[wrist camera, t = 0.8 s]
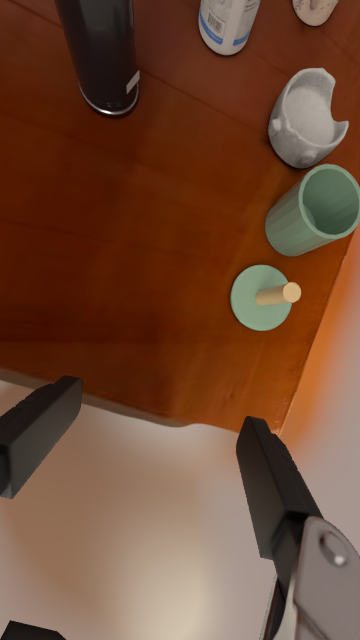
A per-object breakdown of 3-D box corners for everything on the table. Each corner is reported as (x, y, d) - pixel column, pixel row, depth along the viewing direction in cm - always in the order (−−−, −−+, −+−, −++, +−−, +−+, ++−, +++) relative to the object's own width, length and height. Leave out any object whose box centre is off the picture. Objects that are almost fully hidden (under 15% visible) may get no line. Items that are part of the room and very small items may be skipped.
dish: (299, 86, 38) (321, 51, 33) (338, 145, 39) (366, 120, 34) (247, 126, 36) (263, 96, 31) (291, 186, 37) (312, 166, 32)
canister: (264, 196, 37) (298, 160, 28) (316, 201, 38) (362, 168, 30) (265, 255, 37) (299, 237, 28) (316, 257, 38) (363, 240, 30)
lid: (228, 265, 36) (252, 248, 27) (287, 267, 38) (328, 252, 29) (229, 331, 36) (253, 335, 27) (288, 329, 38) (328, 333, 29)
